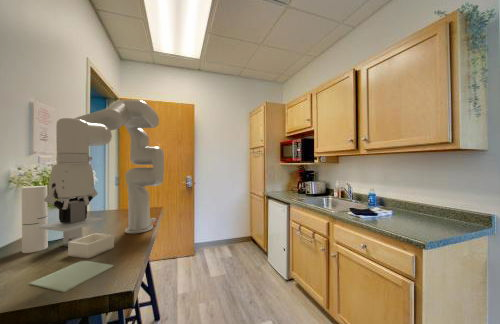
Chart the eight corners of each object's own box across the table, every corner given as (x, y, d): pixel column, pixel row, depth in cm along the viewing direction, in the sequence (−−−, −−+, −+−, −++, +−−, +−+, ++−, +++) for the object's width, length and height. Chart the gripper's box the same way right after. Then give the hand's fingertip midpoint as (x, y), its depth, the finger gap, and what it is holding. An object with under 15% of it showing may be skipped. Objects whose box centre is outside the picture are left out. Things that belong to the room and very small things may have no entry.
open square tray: (95, 245, 86) (95, 233, 86) (114, 247, 83) (113, 235, 83) (68, 255, 76) (68, 242, 76) (88, 258, 73) (88, 244, 73)
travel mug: (72, 247, 84) (71, 198, 84) (59, 246, 85) (58, 197, 85) (87, 241, 90) (86, 195, 90) (74, 240, 91) (74, 195, 92)
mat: (82, 261, 71) (82, 260, 71) (113, 266, 67) (113, 265, 67) (29, 284, 58) (29, 282, 58) (64, 292, 54) (64, 290, 54)
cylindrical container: (52, 246, 85) (51, 185, 85) (28, 254, 78) (28, 187, 78) (41, 244, 87) (40, 185, 87) (17, 251, 80) (17, 187, 81)
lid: (79, 218, 69) (79, 198, 69) (104, 220, 66) (104, 199, 66) (38, 228, 59) (38, 204, 59) (65, 231, 56) (65, 206, 56)
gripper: (92, 160, 72) (92, 213, 72) (29, 159, 56) (29, 227, 56) (108, 160, 70) (109, 214, 70) (48, 159, 54) (48, 229, 53)
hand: (73, 219), depth 63 cm, fingers closed on lid, 4 cm apart
